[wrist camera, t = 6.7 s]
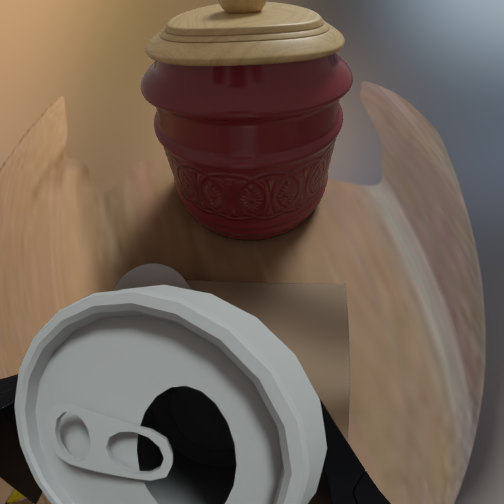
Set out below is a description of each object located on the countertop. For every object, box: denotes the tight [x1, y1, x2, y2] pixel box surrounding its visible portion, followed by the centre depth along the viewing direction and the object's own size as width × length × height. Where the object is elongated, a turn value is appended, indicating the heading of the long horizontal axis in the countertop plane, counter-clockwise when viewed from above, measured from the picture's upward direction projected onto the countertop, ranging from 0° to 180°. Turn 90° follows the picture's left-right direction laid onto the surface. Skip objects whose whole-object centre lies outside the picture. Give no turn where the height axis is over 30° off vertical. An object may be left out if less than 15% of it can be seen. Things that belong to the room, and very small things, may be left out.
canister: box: [141, 0, 353, 240], centre depth 16 cm, size 13×13×18 cm
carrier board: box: [113, 263, 350, 441], centre depth 15 cm, size 16×16×3 cm
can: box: [15, 285, 327, 504], centre depth 8 cm, size 8×8×12 cm
